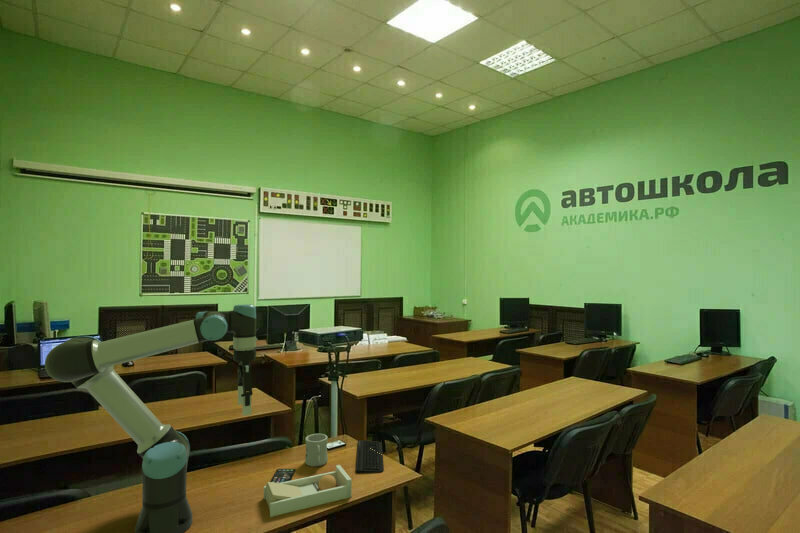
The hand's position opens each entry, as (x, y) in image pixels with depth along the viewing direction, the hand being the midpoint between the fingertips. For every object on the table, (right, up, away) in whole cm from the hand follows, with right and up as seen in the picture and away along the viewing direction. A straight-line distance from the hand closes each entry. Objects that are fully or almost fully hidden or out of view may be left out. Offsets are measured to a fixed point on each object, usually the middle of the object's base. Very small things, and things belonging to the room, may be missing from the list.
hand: (244, 409), depth 152 cm
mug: (+21, -29, +22) cm, 42 cm away
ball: (+29, -26, -1) cm, 39 cm away
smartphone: (+11, -30, +9) cm, 33 cm away
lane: (+23, -29, -4) cm, 37 cm away
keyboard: (+42, -30, +29) cm, 59 cm away
